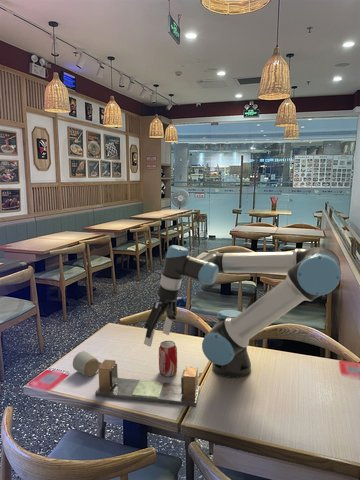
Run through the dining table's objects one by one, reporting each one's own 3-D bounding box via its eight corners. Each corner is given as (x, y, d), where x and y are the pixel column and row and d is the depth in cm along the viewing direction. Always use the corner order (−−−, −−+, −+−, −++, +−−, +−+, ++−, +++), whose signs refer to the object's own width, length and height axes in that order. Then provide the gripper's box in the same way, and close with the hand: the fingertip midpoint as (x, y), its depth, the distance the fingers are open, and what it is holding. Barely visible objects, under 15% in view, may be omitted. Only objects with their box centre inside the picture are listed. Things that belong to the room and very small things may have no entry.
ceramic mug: (85, 380, 131) (84, 361, 130) (72, 373, 136) (71, 354, 135) (107, 369, 139) (107, 351, 138) (94, 363, 145) (94, 345, 143)
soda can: (177, 377, 133) (176, 348, 131) (158, 377, 133) (157, 348, 131) (177, 368, 139) (177, 339, 138) (159, 368, 140) (159, 339, 138)
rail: (199, 389, 125) (199, 364, 123) (195, 407, 115) (195, 380, 114) (106, 380, 131) (105, 356, 130) (95, 396, 122) (94, 370, 120)
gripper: (176, 278, 142) (164, 326, 146) (142, 289, 120) (129, 345, 123) (192, 284, 139) (180, 333, 143) (161, 297, 117) (147, 354, 120)
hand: (156, 339), depth 133 cm, fingers open, 13 cm apart
